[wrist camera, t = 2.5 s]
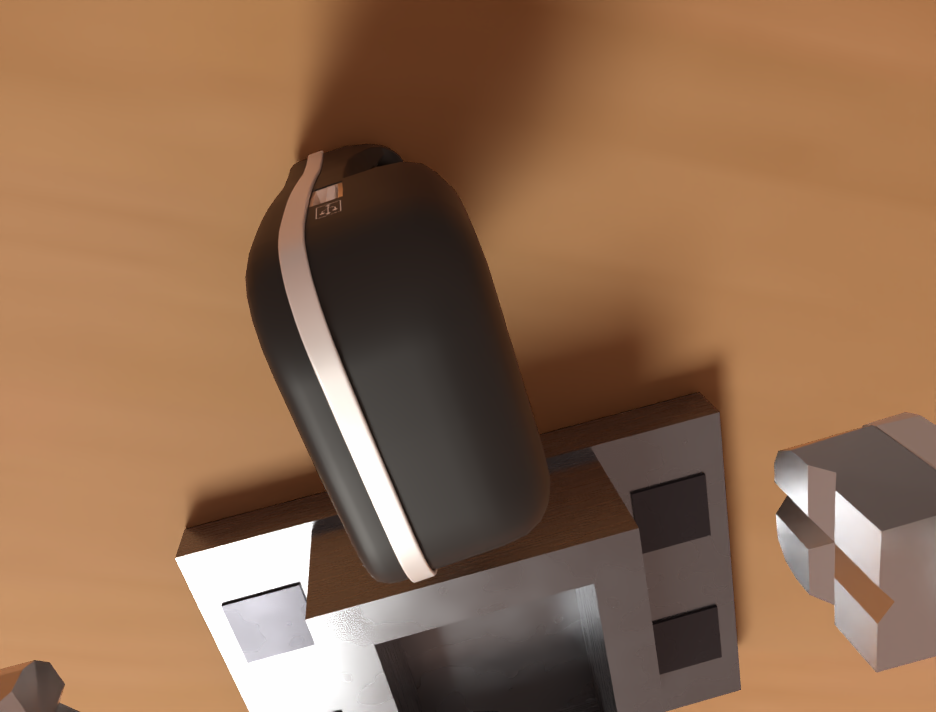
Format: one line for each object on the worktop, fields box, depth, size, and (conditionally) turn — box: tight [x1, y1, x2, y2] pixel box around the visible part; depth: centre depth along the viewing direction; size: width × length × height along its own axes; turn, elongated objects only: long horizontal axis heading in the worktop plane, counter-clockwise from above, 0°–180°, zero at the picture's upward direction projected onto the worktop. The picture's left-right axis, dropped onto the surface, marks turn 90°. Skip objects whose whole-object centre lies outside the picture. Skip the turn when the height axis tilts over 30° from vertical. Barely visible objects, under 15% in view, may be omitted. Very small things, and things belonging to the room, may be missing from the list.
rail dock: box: [175, 392, 741, 712], centre depth 25 cm, size 18×13×6 cm
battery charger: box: [246, 144, 551, 584], centre depth 17 cm, size 7×4×11 cm, turn 17°
